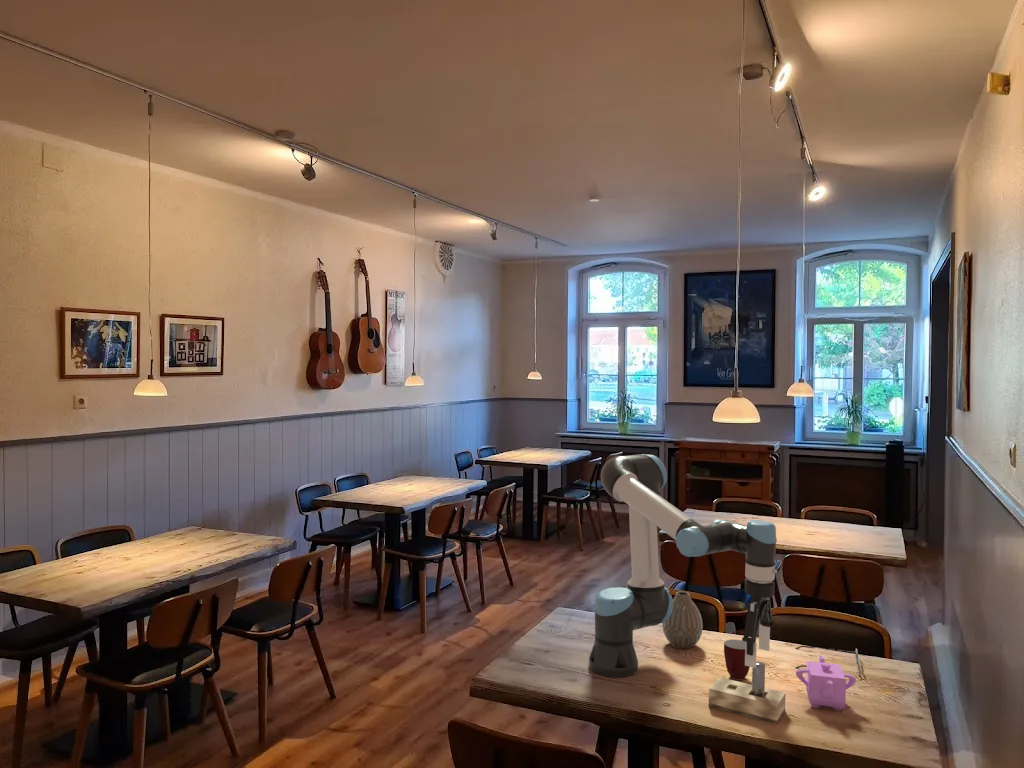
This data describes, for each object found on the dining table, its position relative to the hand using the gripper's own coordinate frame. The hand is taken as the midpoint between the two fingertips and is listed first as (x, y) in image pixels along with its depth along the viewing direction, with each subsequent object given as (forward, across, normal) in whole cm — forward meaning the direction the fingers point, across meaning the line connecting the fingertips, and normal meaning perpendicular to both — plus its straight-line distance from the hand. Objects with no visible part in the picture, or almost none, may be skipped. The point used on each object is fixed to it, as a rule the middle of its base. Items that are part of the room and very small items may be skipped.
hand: (757, 657), depth 196 cm
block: (+14, 0, +2) cm, 15 cm away
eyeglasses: (+15, +47, -10) cm, 50 cm away
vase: (+16, +35, +33) cm, 51 cm away
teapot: (+15, +16, -15) cm, 26 cm away
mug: (+15, +18, +10) cm, 25 cm away
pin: (+13, 0, -1) cm, 13 cm away
